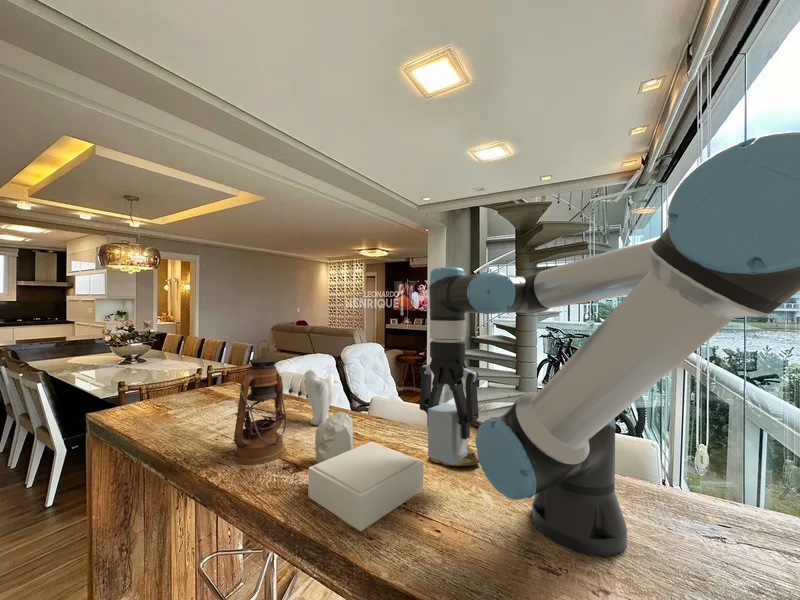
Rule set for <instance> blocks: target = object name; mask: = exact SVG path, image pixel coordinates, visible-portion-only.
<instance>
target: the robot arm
mask: <svg viewBox="0 0 800 600" xmlns="http://www.w3.org/2000/svg"><path fill="white" fill-rule="evenodd" d="M667 216H668V217H667V228H666V229H665V230H664V231H663V232H662V233H661V234H660V236H657V237H654V238H650V239H647V240H643V241H639V242H636V243H634V244H631V245H630V244H629V245H627V246H623V247H619V248H616V249H613V250H609V251H606V252H603V253H598V254H596V255H592V256H588V257H586V258H585V257H584V258H582V259H578V260H575V261H571V262H568V263H565V264H561V265H558V266H554V267H550V268H547V269H544V270H541V271H538V272H534V273H531V274H527V275H507V274H506V273H504V272H500V271H494V272H491V271H484V272H481V273H475V274H468V275H465V274H466V273H465V270H464V269H463V268H461V267H452V266H450V267H447V266H446V267H445V266H444V267H437V268H433V269H432V270H431V271H430V274H429V276H430V277H429V286H428V290H429V292H428V294H429V338H430V339H431V341H430V342H429V357H430V358H431V360H430V362H429V364H425V365H424V364H423V365H420V366H419V368H418V369H419V373H420V390H419V391H420V393H419V410H420V411H424V412H425V413H426V415H427V418H426V420H427V421H426V422H427V423H426V426H427V427H426V428H428V409H429V408H432V407H434V406H437V405H440V400H441V396H442V393H443V390H444V387H445V385H447V386H449V390H450V391H451V392H452V395H453V400H454V403H455V404H454V405H456V408H457V412H458V416H459V420H460V421H459V422H457V423H456V442H457V455H458V456H461V455H462V454H464V453H465V452H467V448H466V439H467V440H468V439H469V438H470V435H471V431H470V430H471V427H470V426H471V423H473V422H475V421H477V420H479V418H480V417H479V400H478V386H477V382H478V378H479V372H478V371H476V370H474V371H473V370H470V369H468V368H467V366H466V364H465V360H466V343H465V341H463V340H464V339H465V338H466V316H465V315H466V314H467V313H468V314H482V315H483V314H484V315H489V314H490V315H495V314H509V313H511V314H512V313H521V314H522V313H528V314H537V313H543V312H546V311H548V310H550V309H554V308H558V307H559V308H560V307H565V306H570V305H576V304H582V303H588V302H594V301H600V300H605V299H611V298H617V297H622V296H625V297H624V298H623V300H622V301H620V303H618V305H617V306H616V307H615V308H613V310H612V312H611V313H610V314H609V315H608V316H607V317H606V318H605V320H603V321H602V322H601V324H600V325H598V327H597V328H596V329H595V330H594V331H593V333H591V334H590V336H589V337H588V338H587V339H586V340H585V341H584V342H583V343H582V344H581V345H580V346H579V348H578V349H577V350H576V351H575V352H574V353H573V354H572V355H571V357H569V359H567V361H565V363H563V365H562V366H561V368H560V369H559V370H558V371H556V373H555V374H554V375H553V376H552V377H551V378H550V379H549V380H548V381H547V382H546V383H545V385H544V386H543V387H542V389H540V390H539V391H538V392H536V391H527V392H526V393H525V392H524V393H523V394H522V395H520V396H519V397H518V399H516V401H515V402H514V403H513V404H512V405H511V407H510V408H509V409H507V411H506V412H504V414H503V415H500V416H497V417H496V416H495V417H490V418H489V419H486V420H485V421H483V422H481V424H480V425H479V427H478V429H477V431H476V434H475V435H476V436H475V447H476V454H477V456H478V459H479V462H480V463H479V466H480V467H481V470H482V472H483V474H484V475H485V477H486V479H487V480H488V482H489V483H490V484H491V486H493V488H494V489H495V490H496V491H497V493H500V495H501V494H502V495H503V496H504V497H505V498H507V499H510V500H514V501H515V500H516V501H519V500H523V499H531V498H532V503H531V518H532V522H533V524H534V525H535V527H536V529H537V530H538V531H539V532H540V533H542V535H544V537H546V538H547V539H549V540H550V541H551V542H553V543H555V544H557V545H559V546H560V547H563V548H565V549H567V550H569V551H572V552H575V553H578V554H582V555H588V556H592V557H593V556H594V557H611V556H615V555H618V554H620V553H622V552H623V551H624V550H625V549H626V548H627V545H628V528H627V527H628V526H627V524H626V521H625V517H624V515H623V512H622V509H621V506H620V503H619V501H618V500H619V499H618V497H617V494H616V488H615V487H616V485H615V483H616V479H615V478H616V460H615V459H616V430H617V425H616V423H615V418H616V417H618V416H619V415H620V414H621V413H622V412H623V411H625V410H626V409H628V407H630V406H631V405H632V404H633V403H634V402H636V401H637V400H638V399H640V397H641V396H643V395H644V394H645V393H647V391H649V390H650V389H651V388H653V387H654V386H655V385H656V384H657V383H659V381H660V380H662V379H663V378H665V377H666V376H667V375H668V374H670V372H671V371H673V370H674V369H676V367H678V366H679V365H680V364H681V363H682V362H683V361H685V360H686V359H687V358H688V357H689V356H691V355H692V354H693V353H694V352H696V350H698V349H699V348H701V346H703V345H704V344H705V343H706V342H708V341H709V340H710V339H711V338H712V337H714V336H715V335H717V333H718V332H719V331H721V330H722V329H724V327H725V326H727V325H728V324H730V322H731V321H732V320H734V319H738V318H747V317H749V318H750V317H767V316H770V314H771V313H773V312H775V310H777V309H778V308H779V307H780V306H782V305H783V304H785V303H786V302H787V301H788V300H789V299H790V298H792V297H793V296H794V295H796V294H797V293H798V292H800V131H784V132H783V131H782V132H773V133H768V134H763V135H759V136H755V137H751V138H749V139H746V140H743V141H740V142H736V143H734V144H731V145H729V146H728V147H726V148H725V147H724V148H723V149H722V150H720V151H717V152H716V153H715V154H712V155H711V156H709V157H708V158H706V159H705V160H704V161H702V162H701V163H700V164H698V166H696V167H695V168H694V169H692V171H690V172H689V174H688V175H686V177H685V178H684V179H683V180H682V181H681V183H680V184H679V185H678V187H677V188H676V190H675V192H674V194H673V196H672V198H671V200H670V203H669V205H668V209H667ZM432 374H433V377H432ZM463 377H464V380H465V384H464V383H463V379H462V378H463ZM464 385H465V387H464ZM464 388H465V391H464Z"/></svg>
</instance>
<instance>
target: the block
mask: <svg viewBox="0 0 800 600" xmlns="http://www.w3.org/2000/svg"><path fill="white" fill-rule="evenodd" d="M459 421H460V420H459V416H458V412H457V408H456V404H450V403H446V402H442V403H439V404H438V405H437V406H434V407H432V408H429V409H428V427H427V440H428V441H427V447H428V448H427V457H428V458H429V457H432V458H434V459H437V460H440V461H443V462H446V463H448V464H451V465H453V464H454V463H456V462H457V461H459V460H461V459H462V458H464V457H465V456H467V452H465V453H464V454H462V455H461V456H458V455H457V442H456V423H457V422H459ZM467 445H468V438H467V439H466V448H467ZM451 465H450V466H451Z"/></svg>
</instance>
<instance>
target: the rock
mask: <svg viewBox="0 0 800 600" xmlns="http://www.w3.org/2000/svg"><path fill="white" fill-rule="evenodd" d="M428 458H429V459H430V460H431V462H434V463H436V464H437V463H438V464H442V465H444V466H450V467H452V466H453V467H463V466H473V465H475V466H476V465H478V464H480V462H479V459H478V455H477V451H476V450H475V449H472V448H471V446H470V445H468V444H467V456H465V457H464V458H462V459H461V460H459V461H457V462H456V463H454V464H453V465H451V464H448V463H446V462H443V461H440V460H437V459H434V458H432V457H429V456H428Z"/></svg>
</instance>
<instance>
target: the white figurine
mask: <svg viewBox="0 0 800 600" xmlns="http://www.w3.org/2000/svg"><path fill="white" fill-rule="evenodd" d="M334 376H335V375H334V372H332V373H330V374H329V375H328V376H327V377H326V376H325V377H319V376H318V375H317V374H316V373H315V370H312V369H309V370H306V372H304V378H305V379H304V381H303V383H304V388H305V392H306V395H307V398H308V401H309V404H310V406H311V410H312V417H311V420H310V424H311V425H314V426H318V425H319V424H321V423H325V421H326V419H327V418H328V417H330V415H329V409H330V406H331V401H332V396H333V390H334V387H335V386H334V383H335V378H334Z"/></svg>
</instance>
